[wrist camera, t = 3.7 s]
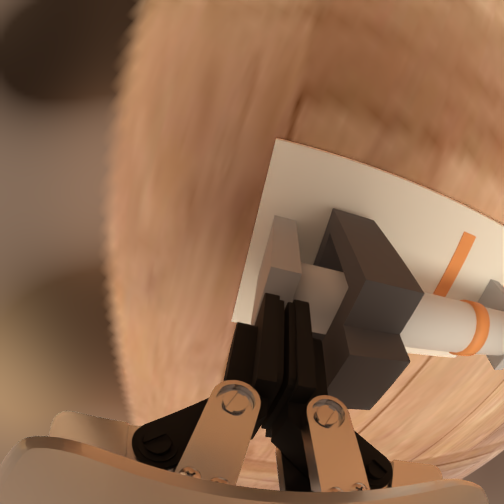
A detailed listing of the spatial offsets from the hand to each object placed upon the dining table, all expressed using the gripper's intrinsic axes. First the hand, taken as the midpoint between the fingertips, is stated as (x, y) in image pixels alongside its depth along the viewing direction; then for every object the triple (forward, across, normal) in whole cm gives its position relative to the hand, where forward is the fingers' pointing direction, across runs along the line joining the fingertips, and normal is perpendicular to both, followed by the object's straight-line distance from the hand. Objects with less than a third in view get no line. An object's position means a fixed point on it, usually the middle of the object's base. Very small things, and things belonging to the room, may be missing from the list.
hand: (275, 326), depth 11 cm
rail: (+7, -8, 0) cm, 11 cm away
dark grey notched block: (+6, -3, 0) cm, 7 cm away
